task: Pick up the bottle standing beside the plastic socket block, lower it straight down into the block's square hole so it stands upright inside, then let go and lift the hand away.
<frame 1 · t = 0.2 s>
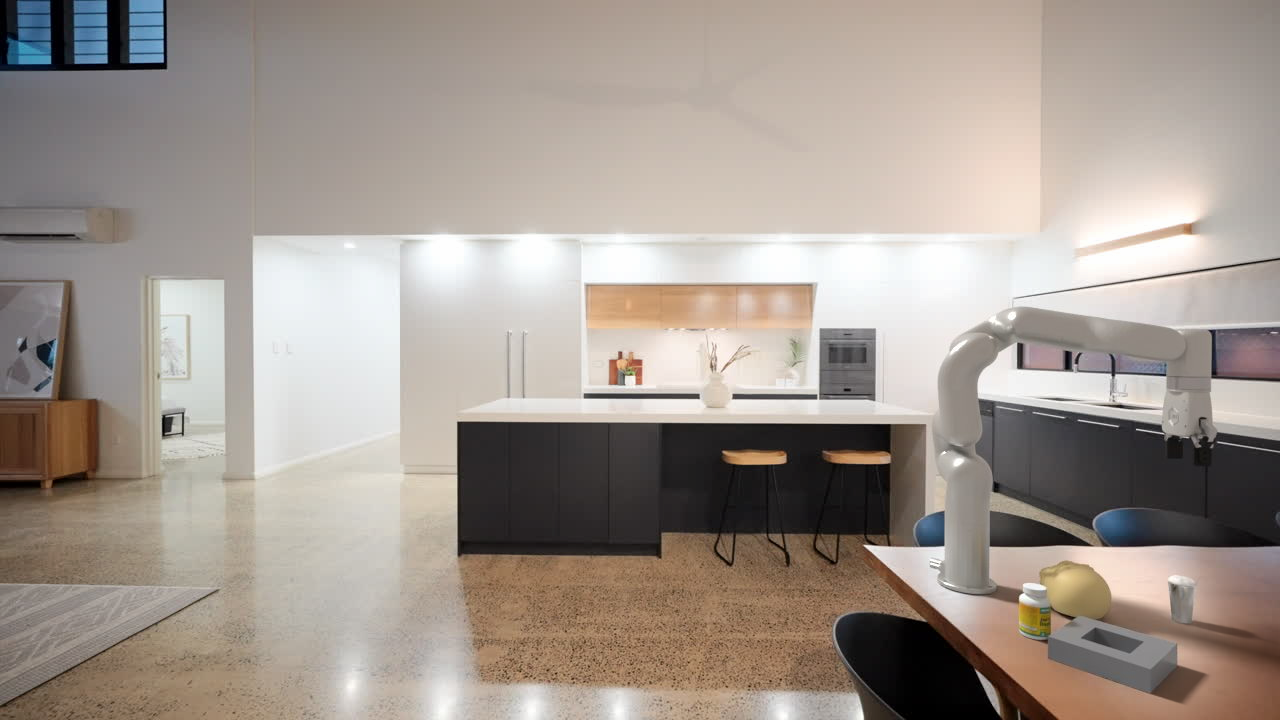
hand: (1187, 462, 141), 31 cm above the table, tool pointing down, fingers open, 9 cm apart
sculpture: (1075, 614, 135), on the table
socket block: (1111, 662, 114), on the table
milkshake: (1184, 622, 131), on the table
supplement bottle: (1034, 635, 125), on the table
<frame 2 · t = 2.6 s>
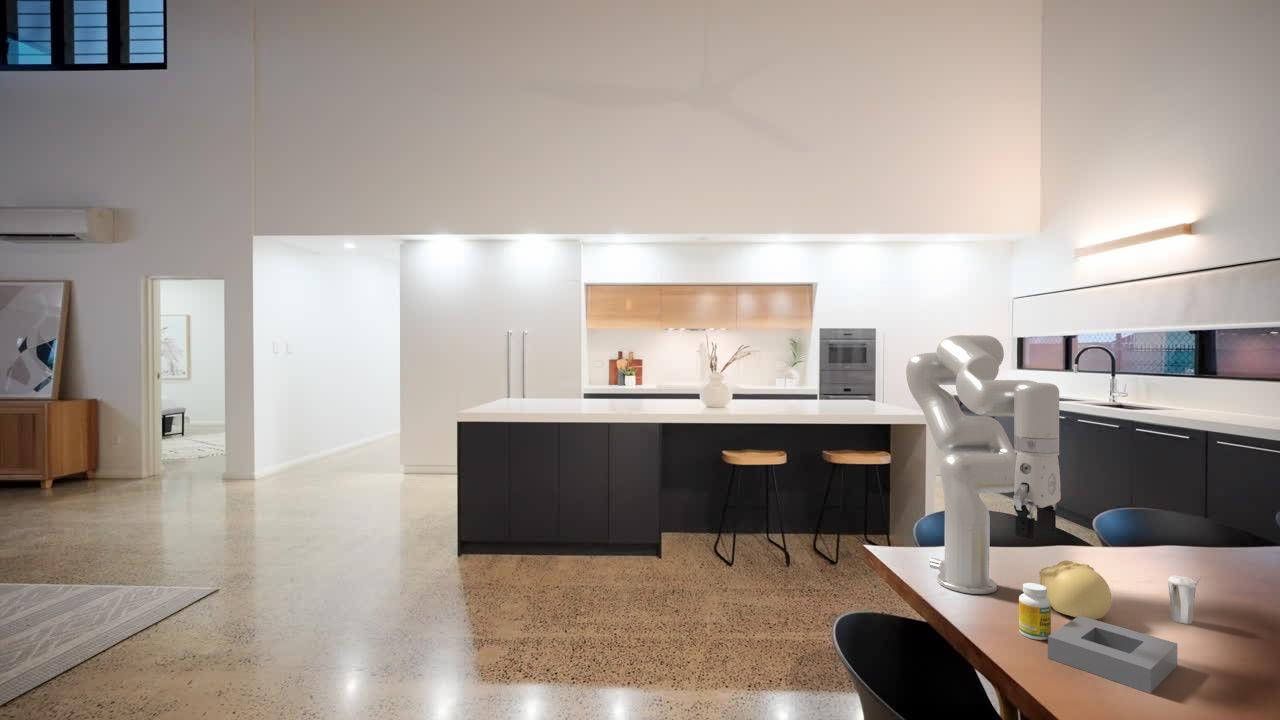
hand: (1035, 533, 125), 20 cm above the table, tool pointing down, fingers open, 9 cm apart
nothing on the table moved.
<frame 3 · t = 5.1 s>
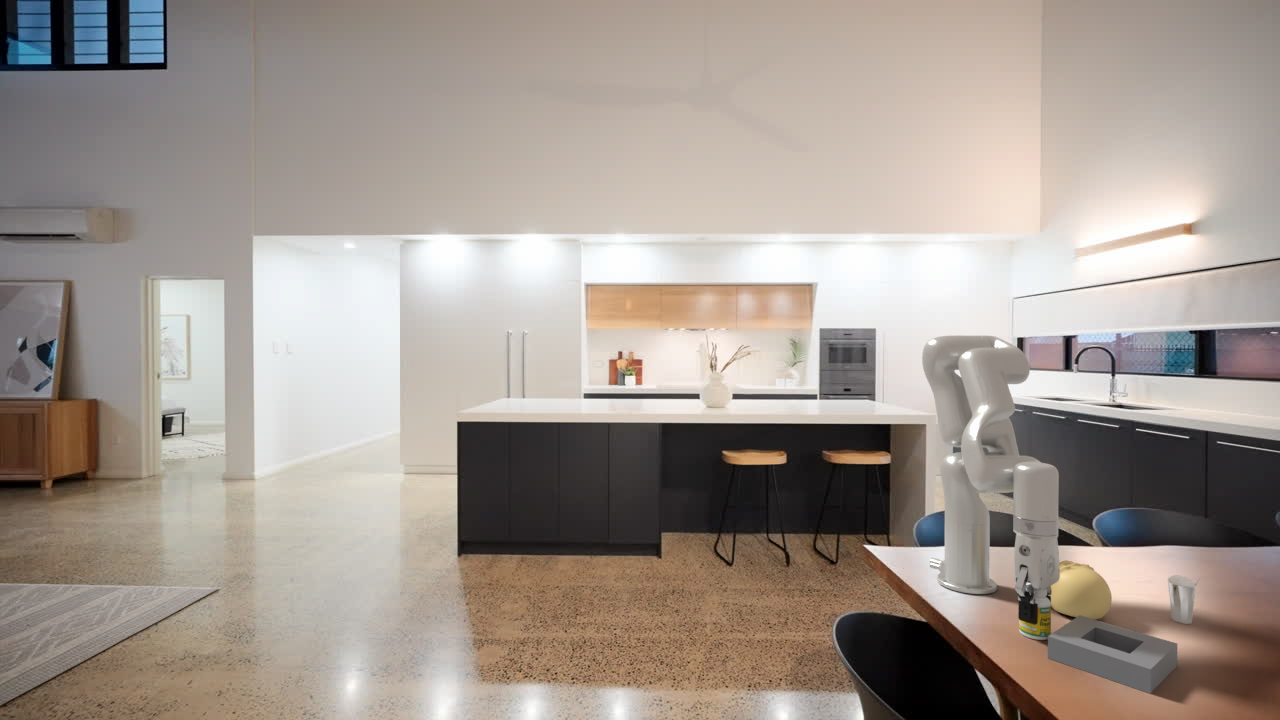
hand: (1034, 617, 125), 3 cm above the table, tool pointing down, fingers closed on supplement bottle, 5 cm apart
supplement bottle: (1034, 635, 125), on the table, touching gripper
everything else where it was.
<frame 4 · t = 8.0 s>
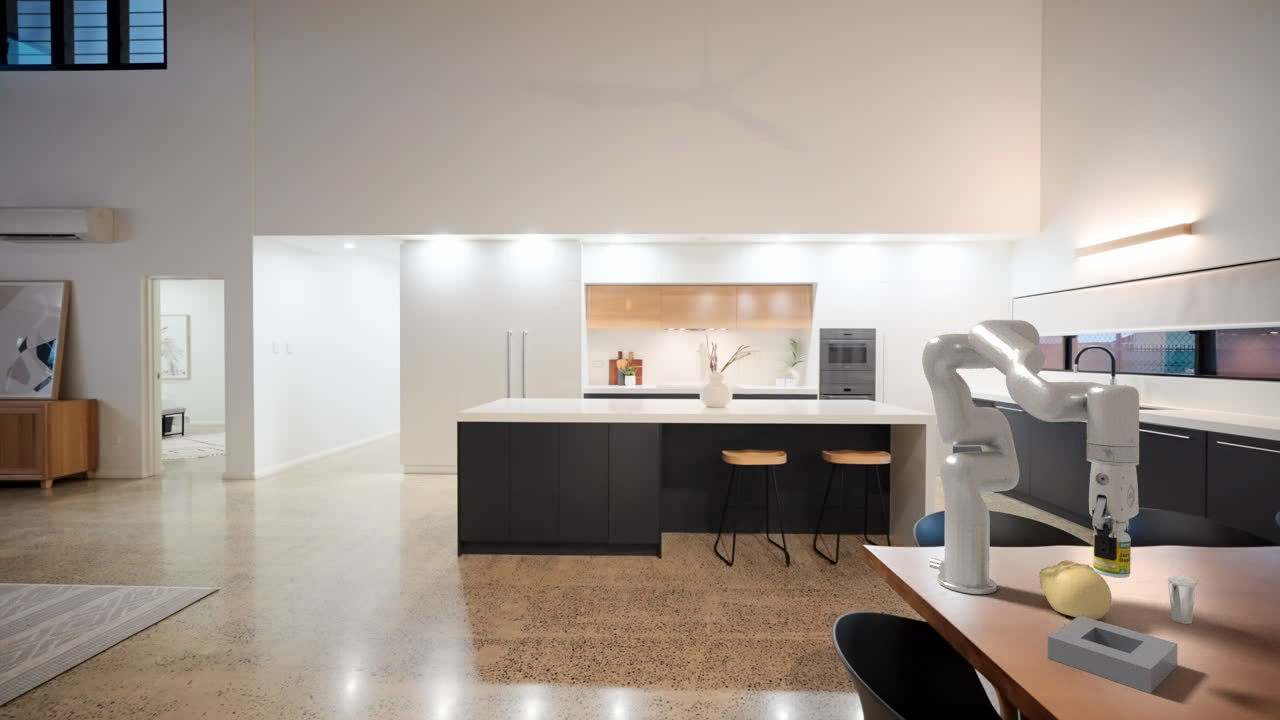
hand: (1111, 554, 114), 19 cm above the table, tool pointing down, fingers closed on supplement bottle, 5 cm apart
supplement bottle: (1111, 574, 114), point 16 cm above the table, touching gripper
everything else where it was.
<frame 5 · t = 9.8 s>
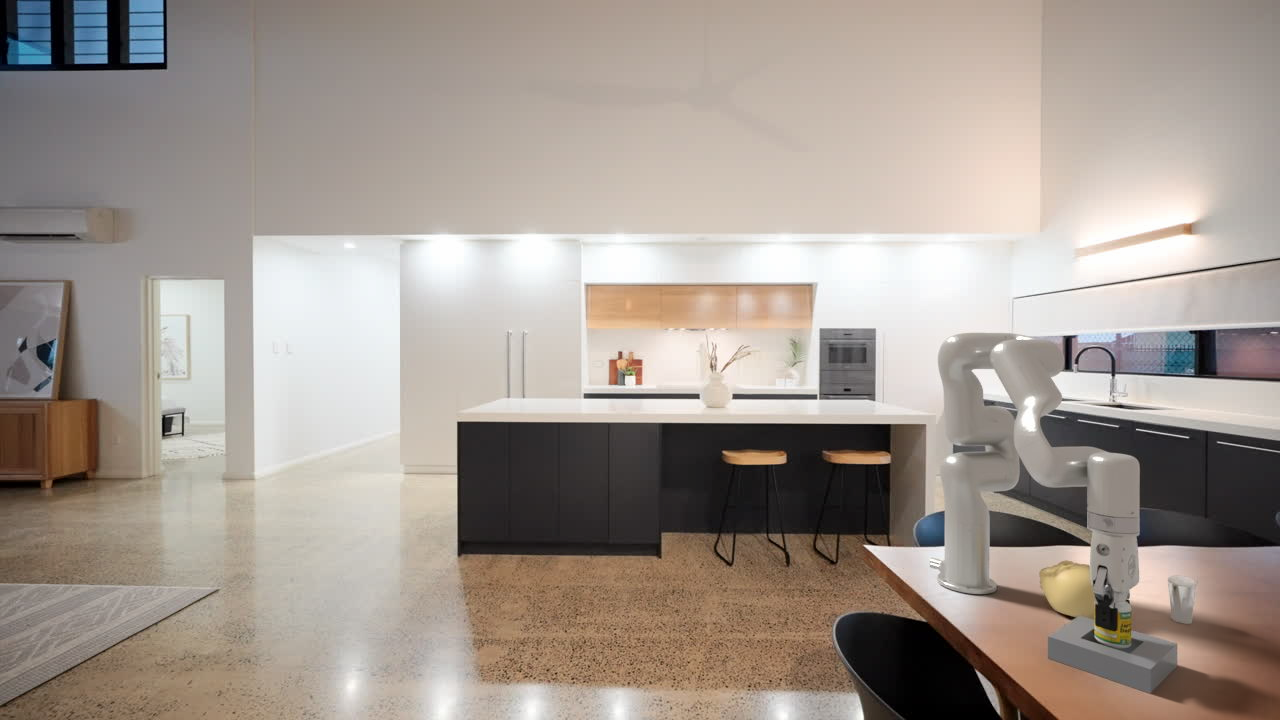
hand: (1112, 622, 114), 7 cm above the table, tool pointing down, fingers closed on supplement bottle, 5 cm apart
supplement bottle: (1112, 643, 114), point 3 cm above the table, touching gripper
everything else where it was.
when the fingers open (5 cm above the table, at t = 11.3 s): supplement bottle drops 1 cm, on the table.
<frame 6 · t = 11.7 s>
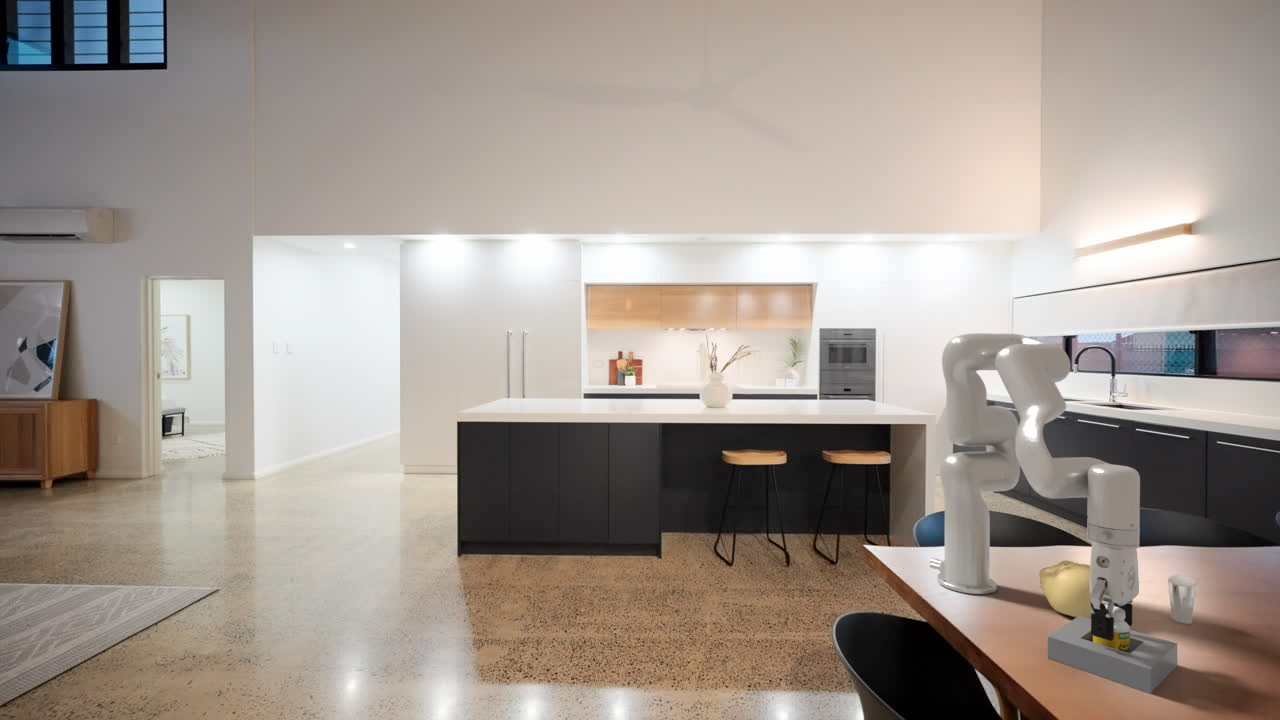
hand: (1111, 630, 114), 6 cm above the table, tool pointing down, fingers open, 9 cm apart
supplement bottle: (1110, 662, 114), on the table
everything else where it was.
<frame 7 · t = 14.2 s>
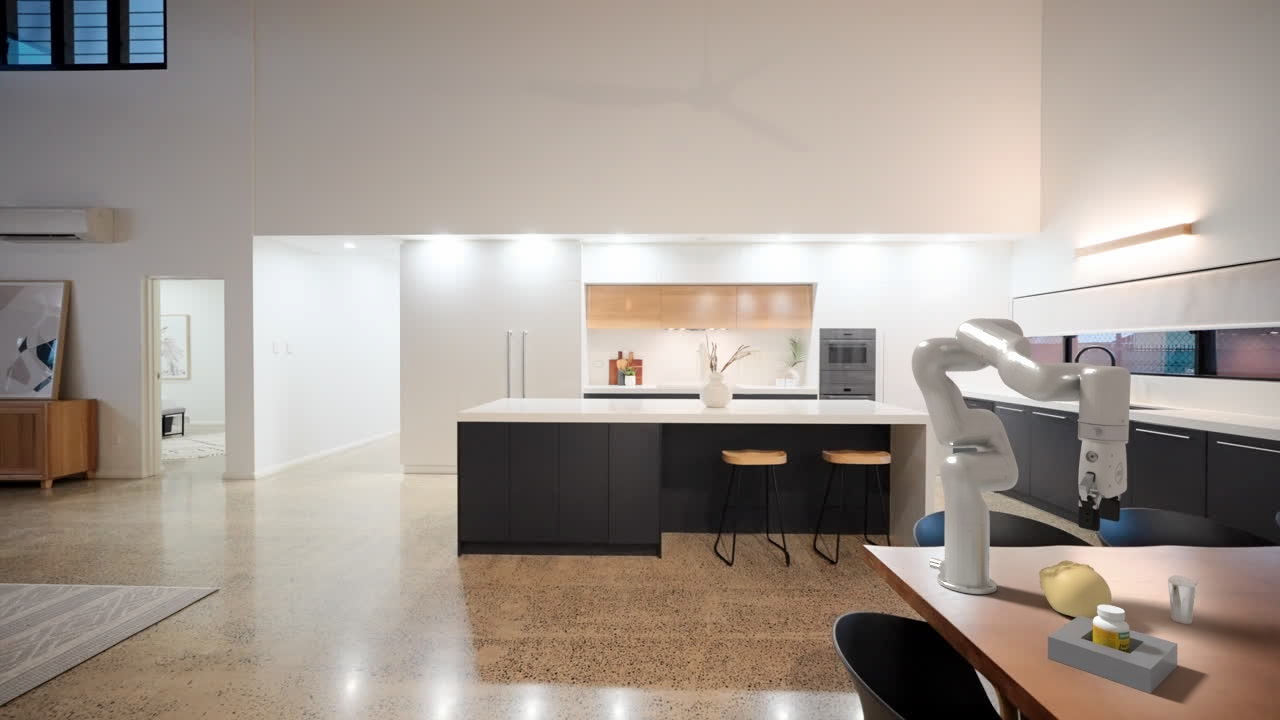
hand: (1099, 524, 118), 24 cm above the table, tool pointing down, fingers open, 9 cm apart
nothing on the table moved.
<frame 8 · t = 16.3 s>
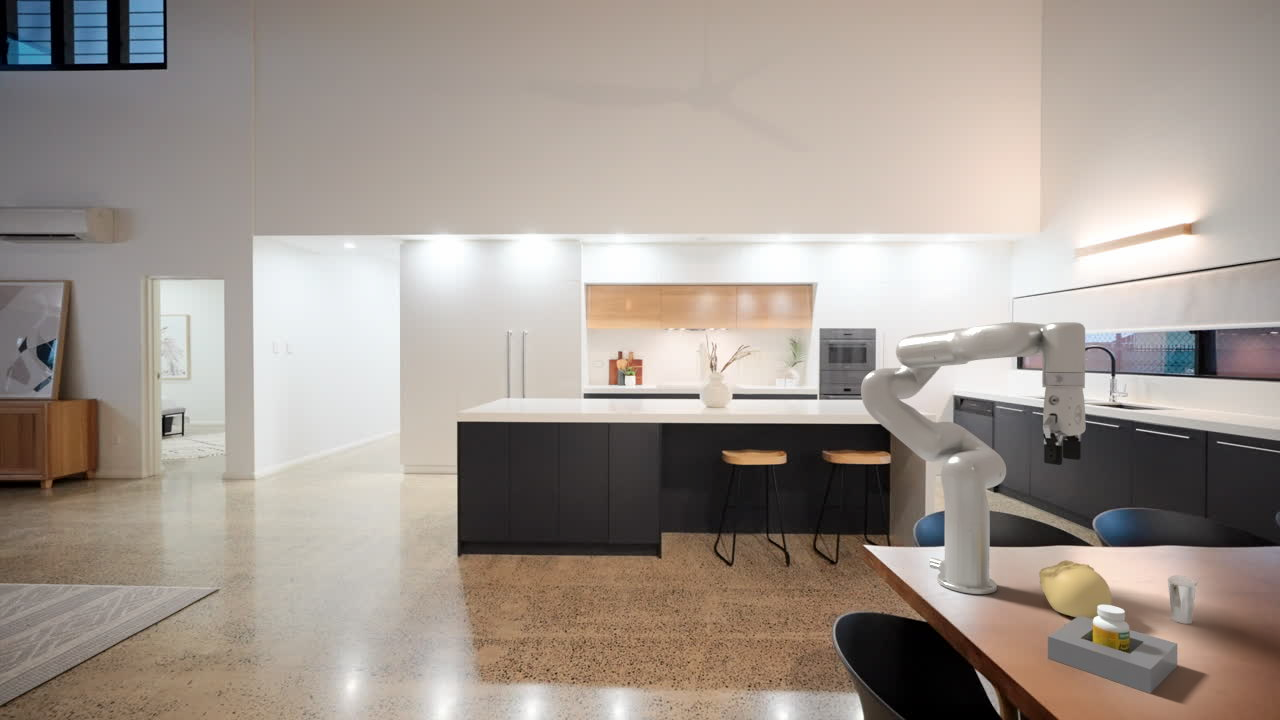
hand: (1062, 461, 135), 32 cm above the table, tool pointing down, fingers open, 9 cm apart
nothing on the table moved.
at the end: supplement bottle 0.2 cm off-centre on the socket block, point 0.0 cm above the socket block's base; supplement bottle tilted 0°; the gripper is holding nothing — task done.
